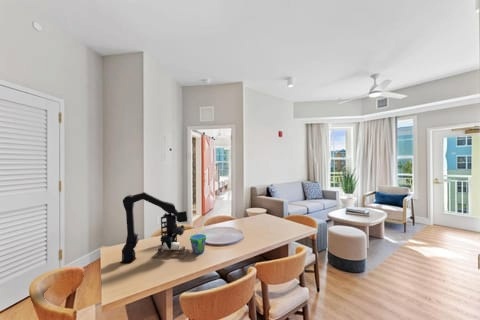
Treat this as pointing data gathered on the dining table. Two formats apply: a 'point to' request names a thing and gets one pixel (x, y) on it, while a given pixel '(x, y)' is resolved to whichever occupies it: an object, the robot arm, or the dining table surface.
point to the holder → (165, 227)
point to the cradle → (171, 253)
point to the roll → (172, 246)
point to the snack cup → (198, 243)
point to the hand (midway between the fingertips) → (171, 247)
